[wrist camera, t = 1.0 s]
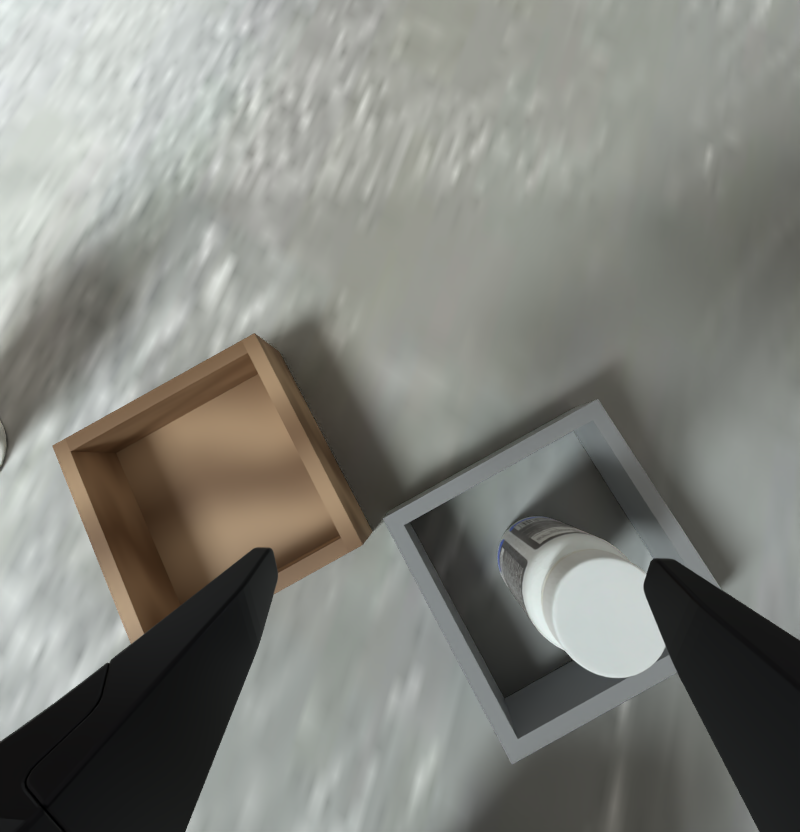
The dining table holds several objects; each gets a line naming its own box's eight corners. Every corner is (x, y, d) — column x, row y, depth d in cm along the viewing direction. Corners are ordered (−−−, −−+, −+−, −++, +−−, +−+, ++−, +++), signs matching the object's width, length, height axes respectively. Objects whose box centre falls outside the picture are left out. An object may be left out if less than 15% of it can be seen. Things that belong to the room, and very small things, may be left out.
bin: (701, 607, 20) (749, 632, 17) (499, 720, 20) (511, 764, 17) (574, 407, 22) (597, 398, 19) (388, 511, 22) (382, 518, 19)
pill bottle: (554, 618, 21) (640, 723, 12) (480, 569, 21) (515, 638, 13) (596, 544, 21) (709, 598, 13) (522, 498, 22) (584, 520, 13)
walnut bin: (372, 531, 22) (362, 544, 18) (185, 635, 22) (140, 668, 18) (279, 352, 24) (254, 333, 20) (106, 448, 24) (52, 445, 20)
